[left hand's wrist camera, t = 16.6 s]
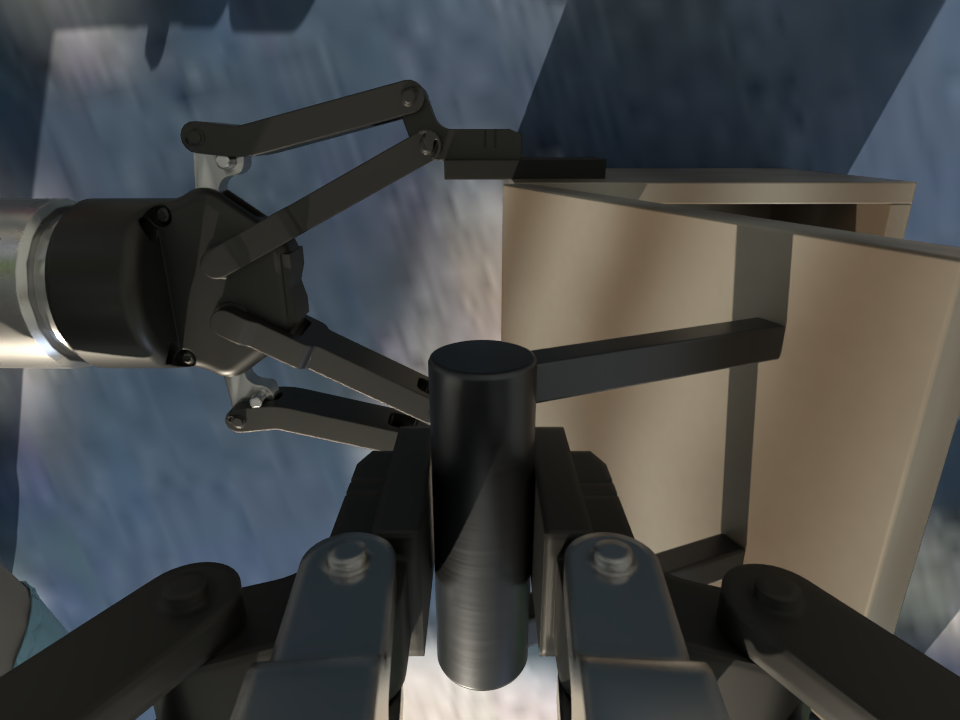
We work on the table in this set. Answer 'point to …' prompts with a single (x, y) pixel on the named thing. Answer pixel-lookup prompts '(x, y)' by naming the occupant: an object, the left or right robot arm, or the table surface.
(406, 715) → the table surface
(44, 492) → the table surface
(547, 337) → the lid
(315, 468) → the table surface
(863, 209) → the chest
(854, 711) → the left robot arm
